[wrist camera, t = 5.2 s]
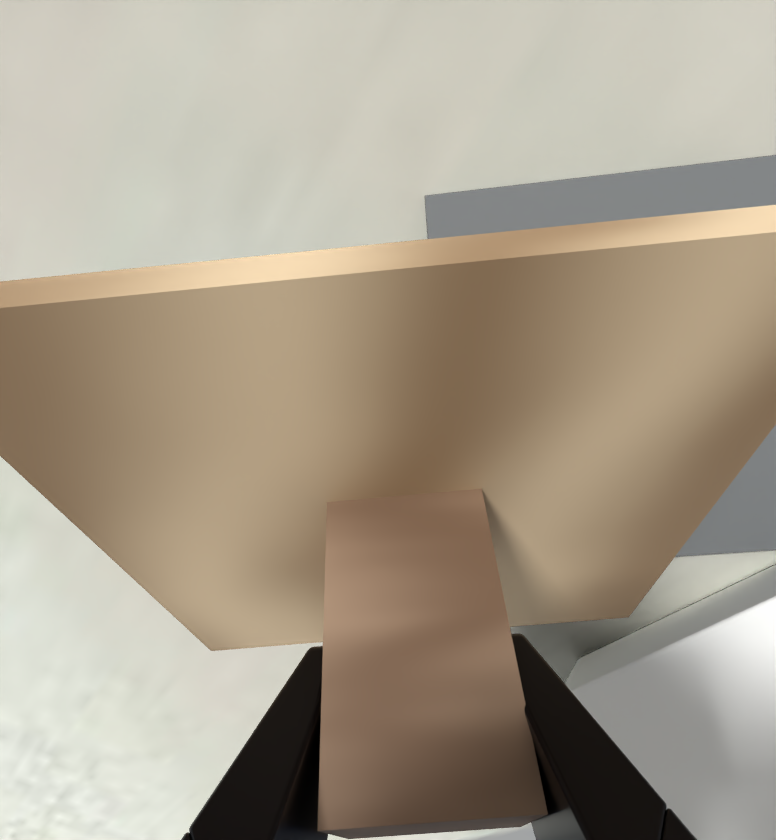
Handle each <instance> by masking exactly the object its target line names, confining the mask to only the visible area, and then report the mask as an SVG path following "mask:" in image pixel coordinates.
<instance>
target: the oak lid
mask: <svg viewBox="0 0 776 840" xmlns="http://www.w3.org/2000/svg"><path fill="white" fill-rule="evenodd" d="M775 425H776V205H768V206H758V207H748V208H738V209H728V210H717V211H707V212H697V213H687V214H677V215H667V216H657V217H647V218H637V219H627V220H617V221H607V222H596V223H586V224H576V225H566V226H556V227H546V228H536V229H526V230H516V231H506V232H496V233H486V234H475V235H465V236H455V237H445V238H435V239H425V240H415V241H405V242H395V243H385V244H375V245H365V246H354V247H344V248H334V249H324V250H314V251H304V252H294V253H284V254H274V255H264V256H254V257H244V258H233V259H223V260H213V261H203V262H193V263H183V264H173V265H163V266H153V267H143V268H133V269H123V270H113V271H102V272H92V273H82V274H72V275H62V276H52V277H42V278H32V279H22V280H12V281H2V282H0V456H1V457H2V458H3V459H4V460H5V461H6V462H8V463H9V464H10V465H11V466H12V467H13V468H14V469H15V470H16V471H17V472H18V473H19V474H20V475H22V476H23V477H24V478H25V479H26V480H27V481H28V482H29V483H30V484H31V485H32V486H33V487H35V488H36V489H37V490H38V491H39V492H40V493H41V494H42V495H43V496H44V497H45V498H46V499H48V500H49V501H50V502H51V503H52V504H53V505H54V506H55V507H56V508H57V509H58V510H59V511H60V512H62V513H63V514H64V515H65V516H66V517H67V518H68V519H69V520H70V521H71V522H72V523H73V524H75V525H76V526H77V527H78V528H79V529H80V530H81V531H82V532H83V533H84V534H85V535H86V536H88V537H89V538H90V539H91V540H92V541H93V542H94V543H95V544H96V545H97V546H98V547H99V548H101V549H102V550H103V551H104V552H105V553H106V554H107V555H108V556H109V557H110V558H111V559H112V560H113V561H115V562H116V563H117V564H118V565H119V566H120V567H121V568H122V569H123V570H124V571H125V572H126V573H128V574H129V575H130V576H131V577H132V578H133V579H134V580H135V581H136V582H137V583H138V584H139V585H141V586H142V587H143V588H144V589H145V590H146V591H147V592H148V593H149V594H150V595H151V596H152V597H153V598H155V599H156V600H157V601H158V602H159V603H160V604H161V605H162V606H163V607H164V608H165V609H166V610H168V611H169V612H170V613H171V614H172V615H173V616H174V617H175V618H176V619H177V620H178V621H179V622H181V623H182V624H183V625H184V626H185V627H186V628H187V629H188V630H189V631H190V632H191V633H192V634H193V635H195V636H196V637H197V638H198V639H199V640H200V641H201V642H202V643H203V644H204V645H205V646H206V647H208V648H209V649H210V650H211V651H216V650H229V649H241V648H254V647H266V646H278V645H291V644H303V643H316V642H323V658H322V693H321V728H320V763H319V798H318V831H320V832H324V833H328V834H332V835H335V836H339V837H343V838H347V839H355V838H369V837H383V836H397V835H411V834H425V833H439V832H453V831H467V830H481V829H495V828H509V827H521V826H523V825H525V824H528V823H530V822H532V821H534V820H536V819H539V818H541V817H543V816H545V815H547V814H548V812H547V807H546V802H545V797H544V792H543V787H542V783H541V778H540V773H539V768H538V763H537V758H536V753H535V748H534V743H533V739H532V735H531V732H530V729H529V725H528V722H527V719H526V715H525V705H526V704H525V699H524V694H523V689H522V684H521V679H520V675H519V670H518V665H517V660H516V655H515V650H514V645H513V640H512V635H511V630H510V627H514V626H526V625H538V624H551V623H563V622H576V621H588V620H600V619H613V618H625V617H629V616H630V615H631V613H632V612H633V611H634V610H635V608H636V607H637V606H638V604H639V603H640V602H641V600H642V599H643V598H644V596H645V595H646V594H647V592H648V591H649V590H650V589H651V587H652V586H653V585H654V583H655V582H656V581H657V579H658V578H659V577H660V575H661V574H662V573H663V572H664V570H665V569H666V568H667V566H668V565H669V564H670V562H671V561H672V560H673V558H674V557H675V556H676V555H677V553H678V552H679V551H680V549H681V548H682V547H683V545H684V544H685V543H686V541H687V540H688V539H689V538H690V536H691V535H692V534H693V532H694V531H695V530H696V528H697V527H698V526H699V524H700V523H701V522H702V520H703V519H704V518H705V517H706V515H707V514H708V513H709V511H710V510H711V509H712V507H713V506H714V505H715V503H716V502H717V501H718V500H719V498H720V497H721V496H722V494H723V493H724V492H725V490H726V489H727V488H728V486H729V485H730V484H731V483H732V481H733V480H734V479H735V477H736V476H737V475H738V473H739V472H740V471H741V469H742V468H743V467H744V465H745V464H746V463H747V462H748V460H749V459H750V458H751V456H752V455H753V454H754V452H755V451H756V450H757V448H758V447H759V446H760V445H761V443H762V442H763V441H764V439H765V438H766V437H767V435H768V434H769V433H770V431H771V430H772V429H773V428H774V426H775Z"/></svg>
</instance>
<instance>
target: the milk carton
mask: <svg viewBox="0 0 776 840" xmlns="http://www.w3.org/2000/svg"><path fill="white" fill-rule="evenodd" d="M565 685H566V686H567V687H568V688H569V689H570V691H571V692H572V693H573V694H574V695H575V696H576V698H577V699H578V700H579V701H580V702H581V704H582V705H583V706H584V707H585V708H586V709H587V711H588V712H589V713H590V714H591V715H592V716H593V718H594V719H595V720H596V721H597V722H598V724H599V725H600V726H601V727H602V728H603V729H604V731H605V732H606V733H607V734H608V735H609V737H610V738H611V739H612V740H613V741H614V742H615V744H616V745H617V746H618V747H619V748H620V750H621V751H622V752H623V753H624V754H625V755H626V757H627V758H628V759H629V760H630V761H631V762H632V764H633V765H634V766H635V767H636V768H637V770H638V771H639V772H640V773H641V774H642V775H643V777H644V778H645V779H646V780H647V781H648V783H649V784H650V785H651V786H652V787H653V788H654V790H655V791H656V792H657V793H658V794H659V795H660V797H661V798H662V799H663V800H664V801H665V803H666V805H667V808H670V809H672V810H673V812H674V813H675V814H676V815H677V816H678V818H679V819H680V820H681V821H682V822H683V824H684V825H685V826H686V827H687V828H688V829H689V831H690V832H691V833H692V834H693V835H694V836H695V838H696V839H697V840H776V565H774V566H772V567H770V568H767V569H765V570H763V571H761V572H759V573H757V574H755V575H753V576H751V577H749V578H747V579H744V580H742V581H740V582H738V583H736V584H734V585H732V586H730V587H728V588H726V589H723V590H721V591H719V592H717V593H715V594H713V595H711V596H709V597H707V598H705V599H703V600H700V601H698V602H696V603H694V604H692V605H690V606H688V607H686V608H684V609H682V610H680V611H677V612H675V613H673V614H671V615H669V616H667V617H665V618H663V619H661V620H659V621H657V622H654V623H652V624H650V625H648V626H646V627H644V628H642V629H640V630H638V631H636V632H633V633H631V634H629V635H627V636H625V637H623V638H621V639H619V640H617V641H615V642H613V643H610V644H608V645H606V646H604V647H602V648H600V649H598V650H596V651H594V652H592V653H590V654H587V655H585V656H583V657H581V658H580V659H578V660H577V662H576V664H575V666H574V668H573V670H572V671H571V673H570V675H569V677H568V679H567V681H566V683H565ZM667 808H666V810H667Z"/></svg>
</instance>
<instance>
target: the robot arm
mask: <svg viewBox="0 0 776 840" xmlns="http://www.w3.org/2000/svg"><path fill="white" fill-rule="evenodd" d="M511 635H512V640H513V645H514V650H515V655H516V660H517V665H518V670H519V675H520V679H521V684H522V689H523V694H524V699H525V704H526V705H525V715H526V719H527V722H528V725H529V729H530V732H531V735H532V739H533V743H534V748H535V753H536V758H537V763H538V768H539V773H540V778H541V783H542V787H543V792H544V797H545V802H546V807H547V812H548V814H547V815H545V816H543V817H541V818H539V819H536V820H534V821H532V822H531V823H532V827H533V830H534V834H535V837H536V840H697V839H696V838H695V836H694V835H693V834H692V833H691V832H690V831H689V829H688V828H687V827H686V826H685V825H684V824H683V822H682V821H681V820H680V819H679V818H678V816H677V815H676V814H675V813H674V812H673V810H672V809H670V808H667V805H666V803H665V801H664V800H663V799H662V798H661V797H660V795H659V794H658V793H657V792H656V791H655V790H654V788H653V787H652V786H651V785H650V784H649V783H648V781H647V780H646V779H645V778H644V777H643V775H642V774H641V773H640V772H639V771H638V770H637V768H636V767H635V766H634V765H633V764H632V762H631V761H630V760H629V759H628V758H627V757H626V755H625V754H624V753H623V752H622V751H621V750H620V748H619V747H618V746H617V745H616V744H615V742H614V741H613V740H612V739H611V738H610V737H609V735H608V734H607V733H606V732H605V731H604V729H603V728H602V727H601V726H600V725H599V724H598V722H597V721H596V720H595V719H594V718H593V716H592V715H591V714H590V713H589V712H588V711H587V709H586V708H585V707H584V706H583V705H582V704H581V702H580V701H579V700H578V699H577V698H576V696H575V695H574V694H573V693H572V692H571V691H570V689H569V688H568V687H567V686H566V685H565V683H564V682H563V681H562V680H561V679H560V678H559V676H558V675H557V674H556V673H555V672H554V671H553V669H552V668H551V667H550V666H549V665H548V663H547V662H546V661H545V660H544V659H543V658H542V656H541V655H540V654H539V653H538V652H537V650H536V649H535V648H534V647H533V646H532V645H531V643H530V642H529V641H528V640H527V639H526V638H525V637H524V636H523V635H522V634H511ZM322 658H323V646H320V647H312V648H310V649H309V650H308V651H307V653H306V654H305V656H304V657H303V659H302V660H301V662H300V663H299V665H298V666H297V668H296V669H295V671H294V672H293V674H292V675H291V676H290V678H289V679H288V681H287V682H286V684H285V685H284V687H283V688H282V690H281V691H280V693H279V694H278V696H277V697H276V699H275V700H274V702H273V703H272V705H271V706H270V708H269V709H268V711H267V712H266V714H265V715H264V717H263V718H262V720H261V721H260V723H259V724H258V726H257V727H256V729H255V730H254V732H253V733H252V735H251V736H250V738H249V739H248V741H247V742H246V744H245V745H244V747H243V748H242V750H241V751H240V753H239V754H238V756H237V757H236V759H235V760H234V762H233V763H232V765H231V766H230V768H229V769H228V771H227V772H226V774H225V775H224V777H223V778H222V780H221V781H220V783H219V784H218V786H217V787H216V789H215V790H214V792H213V793H212V795H211V796H210V798H209V799H208V801H207V802H206V804H205V805H204V807H203V808H202V810H201V811H200V813H199V814H198V816H197V817H196V819H195V820H194V822H193V823H192V825H191V826H190V828H189V831H190V833H186V834H185V835H184V836H183V838H182V839H181V840H327V837H328V833H324V832H320V831H318V798H319V763H320V728H321V693H322ZM666 808H667V810H666Z"/></svg>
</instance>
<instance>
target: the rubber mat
mask: <svg viewBox="0 0 776 840" xmlns="http://www.w3.org/2000/svg"><path fill="white" fill-rule="evenodd" d="M768 205H776V155H772V156H763V157H755V158H746V159H738V160H729V161H720V162H712V163H703V164H694V165H686V166H677V167H668V168H660V169H651V170H643V171H634V172H625V173H617V174H608V175H599V176H591V177H582V178H573V179H565V180H556V181H547V182H539V183H530V184H522V185H513V186H504V187H496V188H487V189H478V190H470V191H461V192H452V193H444V194H435V195H426V196H425V208H426V222H427V236H428V239H435V238H445V237H455V236H465V235H475V234H486V233H496V232H506V231H516V230H526V229H536V228H546V227H556V226H566V225H576V224H586V223H596V222H607V221H617V220H627V219H637V218H647V217H657V216H667V215H677V214H687V213H697V212H707V211H717V210H728V209H738V208H748V207H758V206H768ZM766 550H776V425H775V426H774V428H773V429H772V430H771V431H770V433H769V434H768V435H767V437H766V438H765V439H764V441H763V442H762V443H761V445H760V446H759V447H758V448H757V450H756V451H755V452H754V454H753V455H752V456H751V458H750V459H749V460H748V462H747V463H746V464H745V465H744V467H743V468H742V469H741V471H740V472H739V473H738V475H737V476H736V477H735V479H734V480H733V481H732V483H731V484H730V485H729V486H728V488H727V489H726V490H725V492H724V493H723V494H722V496H721V497H720V498H719V500H718V501H717V502H716V503H715V505H714V506H713V507H712V509H711V510H710V511H709V513H708V514H707V515H706V517H705V518H704V519H703V520H702V522H701V523H700V524H699V526H698V527H697V528H696V530H695V531H694V532H693V534H692V535H691V536H690V538H689V539H688V540H687V541H686V543H685V544H684V545H683V547H682V548H681V549H680V551H679V552H678V553H677V555H676V556H675V557H678V556H692V555H707V554H722V553H737V552H752V551H766Z"/></svg>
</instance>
